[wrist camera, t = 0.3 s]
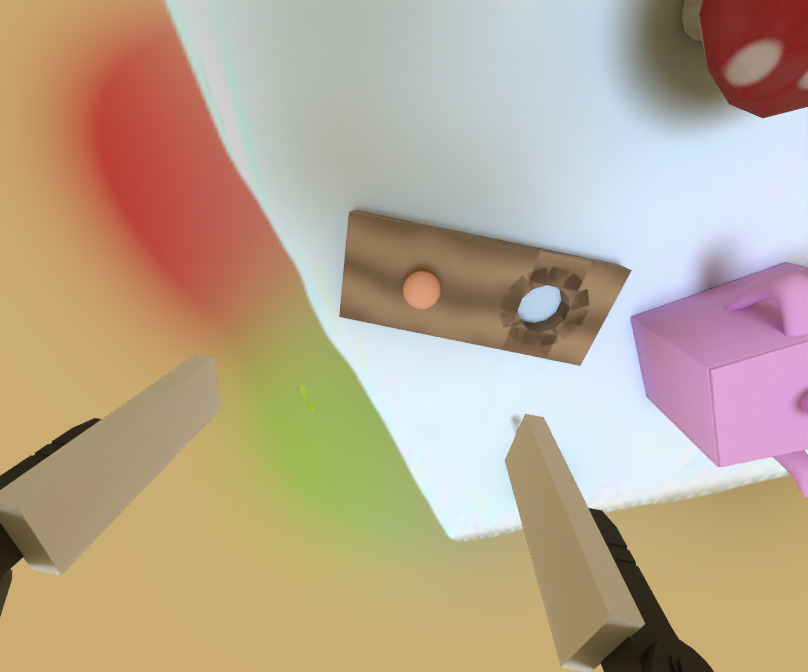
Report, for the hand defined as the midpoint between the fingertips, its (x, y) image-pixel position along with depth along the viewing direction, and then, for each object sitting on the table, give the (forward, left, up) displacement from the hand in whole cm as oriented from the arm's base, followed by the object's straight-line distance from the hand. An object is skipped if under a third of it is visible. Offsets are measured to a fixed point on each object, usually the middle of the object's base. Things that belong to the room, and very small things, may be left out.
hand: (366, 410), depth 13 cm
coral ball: (+1, +2, -21) cm, 21 cm away
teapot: (+2, +38, -26) cm, 46 cm away
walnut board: (+1, +8, -26) cm, 27 cm away
